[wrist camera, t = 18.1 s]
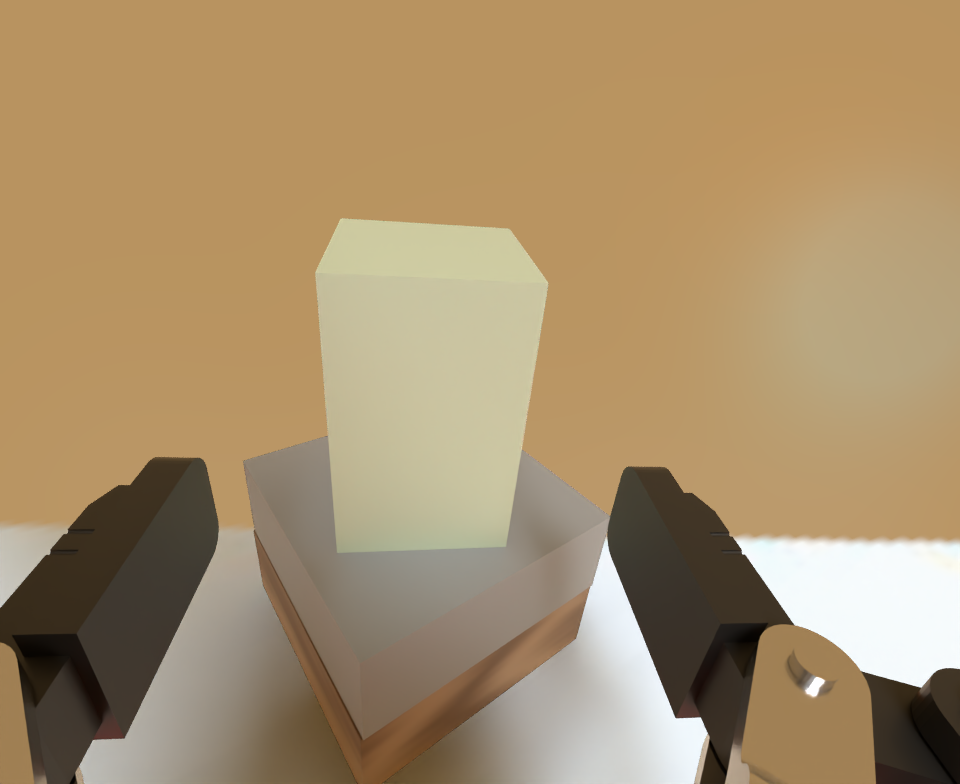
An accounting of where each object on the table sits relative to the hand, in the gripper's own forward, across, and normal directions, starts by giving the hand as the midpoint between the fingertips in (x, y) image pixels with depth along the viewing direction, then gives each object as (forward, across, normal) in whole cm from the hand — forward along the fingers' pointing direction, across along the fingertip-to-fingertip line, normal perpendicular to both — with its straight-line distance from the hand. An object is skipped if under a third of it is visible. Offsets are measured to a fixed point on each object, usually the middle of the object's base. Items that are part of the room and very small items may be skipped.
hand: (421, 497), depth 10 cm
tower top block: (+9, 0, +11) cm, 14 cm away
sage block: (+8, 0, +7) cm, 11 cm away
